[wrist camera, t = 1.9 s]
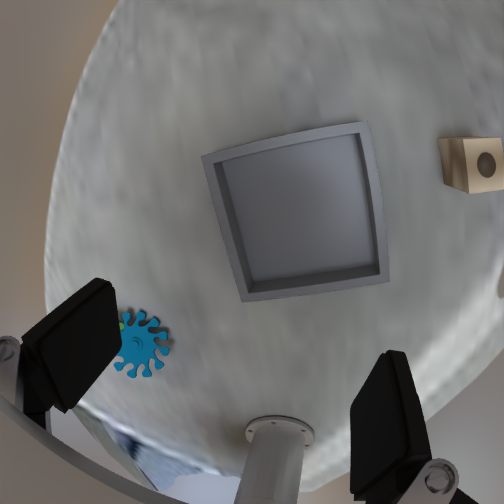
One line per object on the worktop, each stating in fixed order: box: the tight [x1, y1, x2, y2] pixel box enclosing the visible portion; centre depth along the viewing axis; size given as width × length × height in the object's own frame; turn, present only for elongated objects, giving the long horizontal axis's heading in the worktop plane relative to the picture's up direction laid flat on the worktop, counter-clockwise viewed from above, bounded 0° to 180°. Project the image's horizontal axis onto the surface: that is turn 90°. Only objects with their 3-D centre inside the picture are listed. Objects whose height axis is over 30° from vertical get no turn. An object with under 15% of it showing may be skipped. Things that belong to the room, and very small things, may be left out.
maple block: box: [438, 137, 504, 194], centre depth 21 cm, size 5×5×6 cm
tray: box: [201, 121, 390, 303], centre depth 28 cm, size 16×16×4 cm
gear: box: [114, 311, 170, 378], centre depth 40 cm, size 11×6×10 cm
